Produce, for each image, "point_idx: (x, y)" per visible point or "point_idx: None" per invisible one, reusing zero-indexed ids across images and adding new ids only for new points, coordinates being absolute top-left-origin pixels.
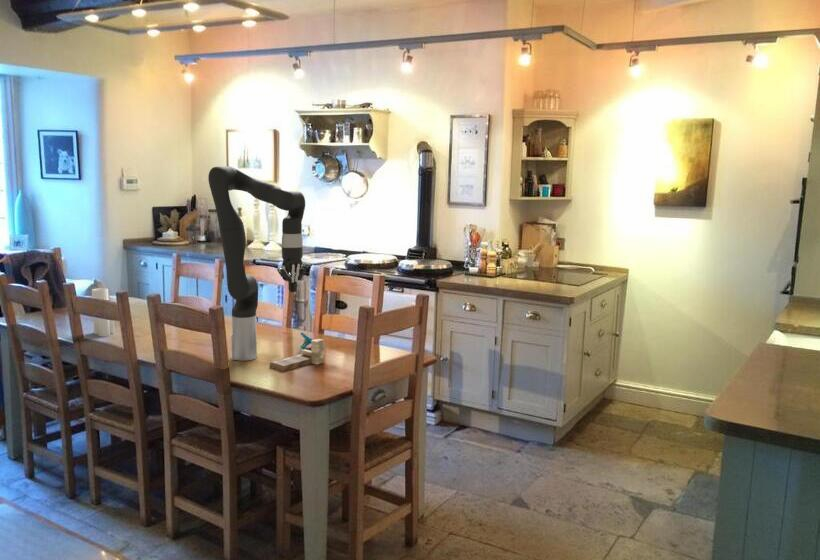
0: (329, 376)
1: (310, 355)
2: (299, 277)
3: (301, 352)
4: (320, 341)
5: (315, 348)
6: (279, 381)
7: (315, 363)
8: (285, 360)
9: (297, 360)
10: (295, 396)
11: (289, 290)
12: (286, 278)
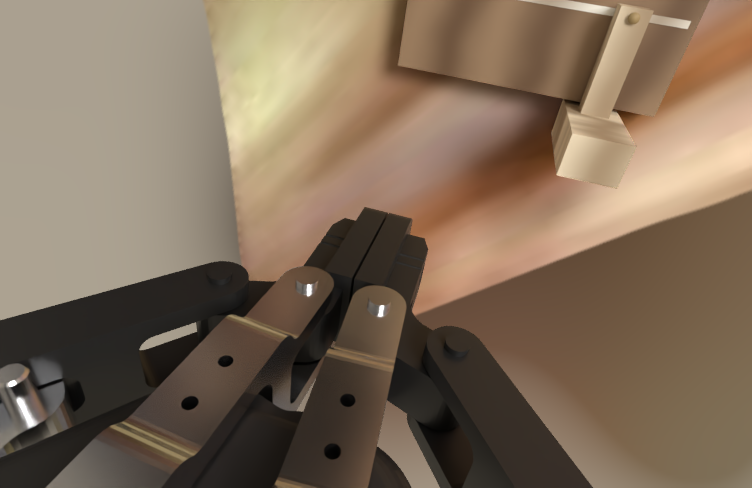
0: (439, 245)
1: (587, 87)
2: (418, 426)
3: (617, 10)
4: (584, 180)
5: (557, 151)
6: (300, 131)
7: (554, 125)
8: (477, 6)
9: (505, 62)
10: (241, 248)
11: (343, 226)
12: (164, 354)
